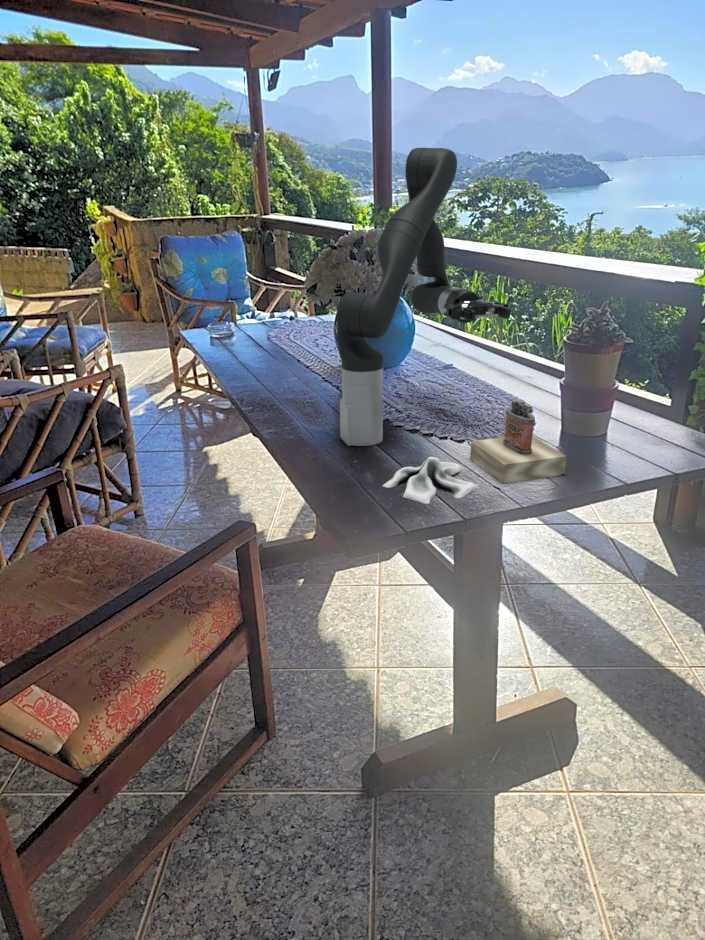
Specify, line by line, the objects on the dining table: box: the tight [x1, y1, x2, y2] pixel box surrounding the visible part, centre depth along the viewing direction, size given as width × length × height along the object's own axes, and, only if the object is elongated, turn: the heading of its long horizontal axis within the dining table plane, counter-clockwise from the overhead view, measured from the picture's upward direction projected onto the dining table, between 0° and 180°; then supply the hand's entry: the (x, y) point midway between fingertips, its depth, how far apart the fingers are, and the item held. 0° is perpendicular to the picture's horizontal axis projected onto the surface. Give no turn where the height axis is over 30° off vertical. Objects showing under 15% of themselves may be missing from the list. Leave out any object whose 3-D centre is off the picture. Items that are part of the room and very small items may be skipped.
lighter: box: [503, 399, 536, 455], centre depth 135 cm, size 8×3×10 cm, turn 21°
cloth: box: [382, 456, 479, 504], centre depth 130 cm, size 22×19×6 cm
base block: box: [469, 435, 567, 484], centre depth 138 cm, size 14×14×4 cm
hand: (491, 314), depth 147 cm, fingers open, 8 cm apart
